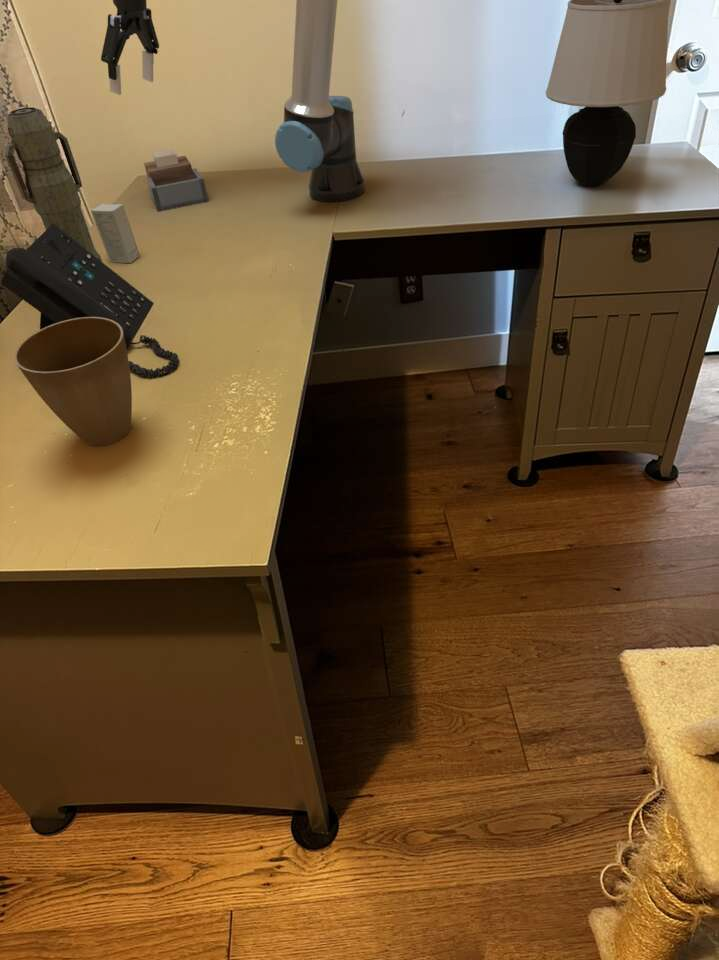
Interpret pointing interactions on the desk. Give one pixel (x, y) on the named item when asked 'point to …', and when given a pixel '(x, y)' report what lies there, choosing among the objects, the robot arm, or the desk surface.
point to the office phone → (78, 290)
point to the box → (178, 192)
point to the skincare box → (115, 233)
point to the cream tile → (165, 158)
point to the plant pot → (82, 376)
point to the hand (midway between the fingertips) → (132, 86)
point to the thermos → (47, 174)
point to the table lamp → (607, 79)
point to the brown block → (169, 172)
